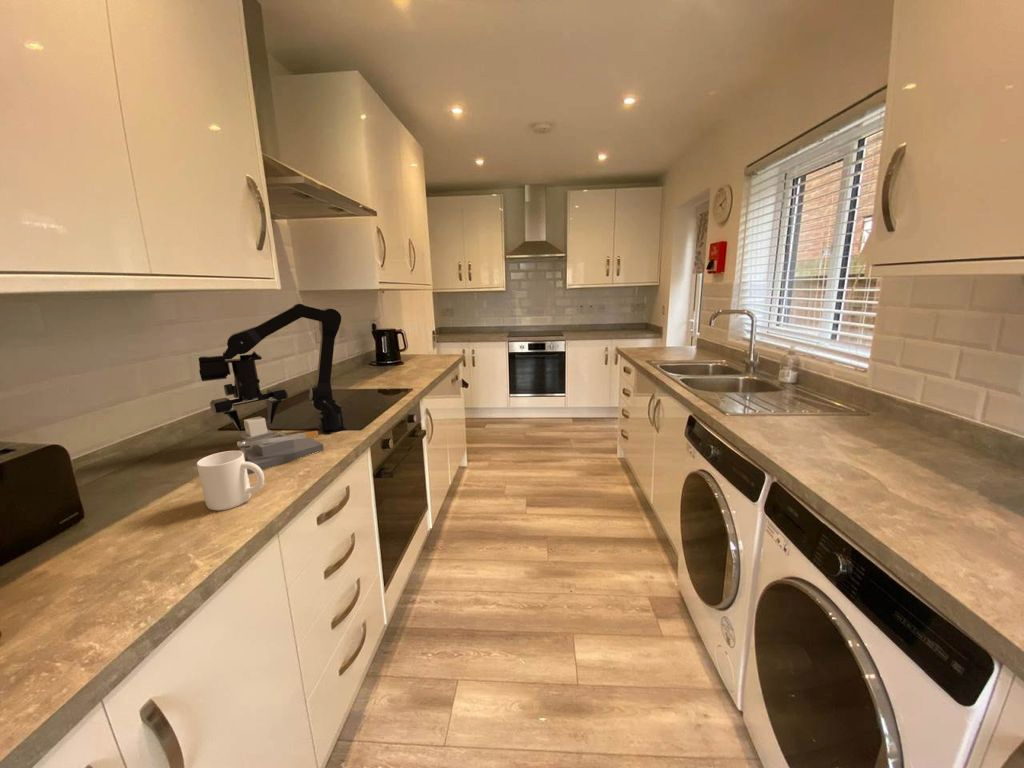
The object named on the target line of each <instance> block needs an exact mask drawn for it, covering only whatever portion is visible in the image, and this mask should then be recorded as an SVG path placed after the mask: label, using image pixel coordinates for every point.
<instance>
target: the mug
mask: <svg viewBox="0 0 1024 768" xmlns="http://www.w3.org/2000/svg"><path fill="white" fill-rule="evenodd" d="M196 467H197V471H198V476H199V479H200V484H201V489H202V494H203V498H204V501H205V505H206V508H208V509H209V510H210V511H211V510H212V511H216V512H217V511H225V510H230V509H234V508H237V507H238V506H241V505H243V504H245V503H246V502H247V501H248V500H249V499H250V498H251V496H252V494H254V493H257V492H258V491H260V490H261V489H262V487H263V486H264V483H265V474H264V470H261V468H260V467H259V466H258V465H256V464H254V463H251V462H245V458H244V453H243V452H241V451H238V450H227V451H221V452H217V453H216V452H215V453H212V454H210V455H207V456H204V457H203V458H201V459H199V460H198V461H197V462H196ZM247 469H251V470H252V471H254V472H255V473H254V474H255V475H256V477H257V482H256V484H255V485H254V486H251V484H250V480H249V479H250V478H249V475H248V473H247Z"/></svg>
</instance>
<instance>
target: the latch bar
mask: <svg viewBox="0 0 1024 768" xmlns="http://www.w3.org/2000/svg"><path fill="white" fill-rule="evenodd" d="M317 437H319V430H312V431H305V432H300V433H299V432H298V433H290V434H286V435H282V436H275V437H267V438H260V439H252V440H245V439H243V440H242V439H241V440H239V441H237V442H236V445H237V448H239V447H245V446H246V447H251V445H258V444H266V443H273V442H280V441H287V440H295V439H302V438H317Z"/></svg>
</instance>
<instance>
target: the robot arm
mask: <svg viewBox="0 0 1024 768" xmlns="http://www.w3.org/2000/svg"><path fill="white" fill-rule="evenodd" d="M301 318H305V319H308V320H313V321H317V322H318V327H319V333H320V341H319V353H318V362H317V363H318V364H317V375H316V380H315V384H314V385H313V384H309V394H308V398H309V400H310V402H311V404H312V406H313V407H314V408H315V409H316V410H318V411H320V412H318V418H317V422H318V432H322V433H324V434H326V435H329V434H333V433H337V432H339V431H343V430H347V427H346V426H344V418H343V412H342V406H341V405H340V404H339V402H338V401H336V400H335V399H333V398H334V397H333V389H332V383H331V379H332V371H333V369H332V368H333V359H334V351H335V350H334V348H335V341H336V337H337V335H338V332H339V329H340V326H341V323H342V315H341V314H340V312H339V311H338V310H336V309H334V308H331V307H329V308H323V309H320V308H315V307H312V306H308V305H304V303H296V304H294V305H293V306H291V307H290V308H288V309H286V310H284V311H282V312H280V313H278V314H276V315H275V316H273V317H271V318H269V319H268V320H265V321H263V322H261V323H260V324H259V325H256V326H253V327H249V328H247V329H246V328H245V329H242V330H240V331H236V332H234V333H232V334H231V335H230V336H229V337H228V339H227V341H226V345H227V348H226V350H225V351H223V353H222V355H213V356H205V355H204V356H199V357H198V362H199V364H198V365H199V366H198V367H199V369H198V371H199V375H200V379H201V381H202V382H208V381H217V380H218V381H219V380H226V379H228V377H229V376H230V375H231V374H232V373H231V368H232V372H233V378H234V379H233V380H234V381H233V382H234V383H233V384H234V385H233V384H232V383H228V384H224V385H223V389H224V393H225V396H227V397H230V396H233V399H229V398H227V397H222V398H221V397H220V398H217V399H212V400H211V401H210V402H209V406H210V410H211V411H212V412H214V413H215V414H219V413H221V414H223V415H227V416H228V417H229V418H230V419H231V421H232V423H233V424H234V426H235V427H236V429H237V430H238V431H239V432H242V425H241V422H240V418H239V415H238V411H237V409H235V408H234V407H235V406H236V407H237V406H240V405H245V404H250V403H253V402H254V403H255V402H259V401H260V402H261V401H264V400H265V404H266V407H267V408H266V409H267V419H268V423H269V424H273V421H274V417H275V414H276V411H277V409H278V407H279V405H280V403H283V400H286V399H289V395H288V391H287V390H286V389H284V388H281V387H275V388H269V389H267V390H266V392H265V393H263V392H262V391H261V387H260V379H259V376H258V369H257V365H256V361H259V360H262V356H261V355H259V354H258V353H257V352H256V351H255V350H254V351H253V352H252V353H251V354H247V353H249V351H250V350H253V349H254V348H255V347H256V346H257V345H258V344H260V342H262V341H263V340H264V339H265V338H267V337H268V336H270V335H272V334H274V333H276V332H277V331H280V330H281V329H283V328H284V327H287V326H288V325H290V324H292V323H294V322H295V321H297V320H299V319H301ZM238 355H239V358H235V357H236V356H238ZM233 358H234V359H233ZM230 364H231V366H230ZM230 367H231V368H230Z"/></svg>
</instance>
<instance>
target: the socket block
mask: <svg viewBox="0 0 1024 768" xmlns="http://www.w3.org/2000/svg"><path fill="white" fill-rule="evenodd" d="M282 435H287V434H285V433H283V432H280V433H279V432H278V433H274V435H271V436H268V437H275V436H282ZM264 438H267V437H264ZM238 448H239V449H238V450H237V451H241V452H243V453H244V458H245V462H251V463H254V464H256V465H258V466H259V467H260V468H261V470H262V471H265V470H267V469H270V468H269V467H271V468H273V467H272V466H274V467H276V466H275V465H277V466H279V464H280V465H283V464H286V463H289V462H292V461H291V460H293V461H295V460H294V459H296V460H298V459H297V458H299V459H301V458H300V457H302V458H304V457H303V456H305V455H308V456H310V455H309V454H312V453H315V452H317V451H321V450H324V451H325V449H324V443H322V442H320V441H317V439H316V440H315V439H313V437H311V438H302V439H295V440H287V441H280V442H273V443H266V444H258V445H252V447H251V446H248V447H247V446H245V447H238ZM321 452H322V451H321ZM315 454H316V453H315ZM312 455H313V454H312ZM305 457H306V456H305ZM288 461H289V462H288ZM285 462H286V463H285ZM282 463H283V464H282ZM266 468H267V469H266ZM247 473H248V476H250V475H252V474H255V473H254V471H252V470H251V469H247Z"/></svg>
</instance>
